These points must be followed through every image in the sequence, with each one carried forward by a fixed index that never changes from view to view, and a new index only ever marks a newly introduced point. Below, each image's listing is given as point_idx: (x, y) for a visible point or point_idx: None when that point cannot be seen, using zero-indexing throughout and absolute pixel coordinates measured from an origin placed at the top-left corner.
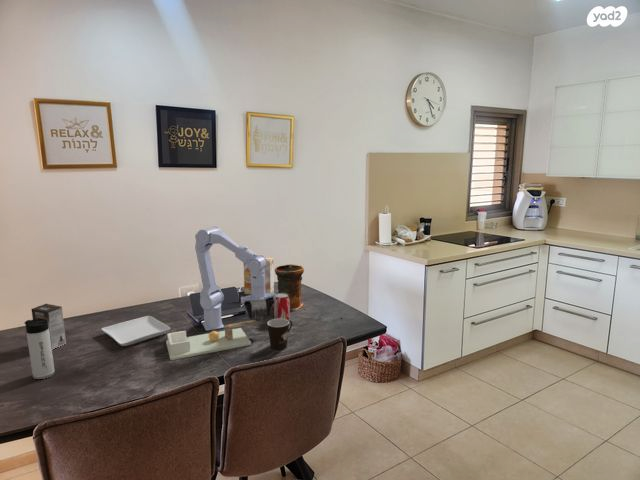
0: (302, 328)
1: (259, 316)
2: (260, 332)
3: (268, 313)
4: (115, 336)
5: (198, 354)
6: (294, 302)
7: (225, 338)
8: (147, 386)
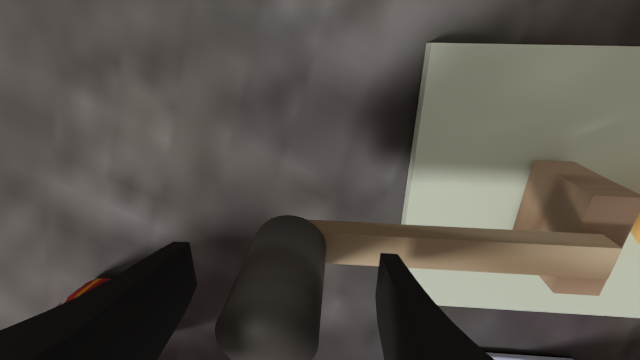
0: (6, 145)
1: (288, 248)
2: (292, 211)
3: (166, 256)
4: None
5: None
6: None
7: None
8: None
